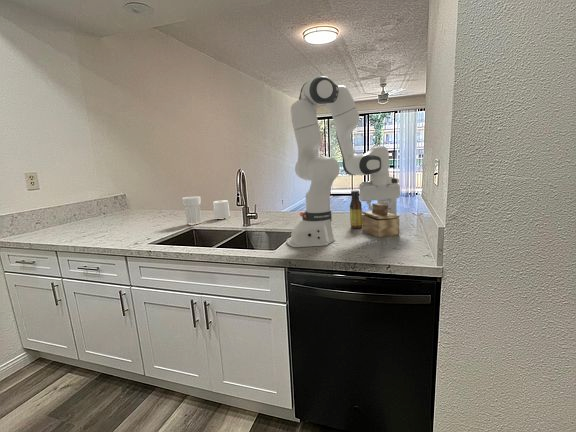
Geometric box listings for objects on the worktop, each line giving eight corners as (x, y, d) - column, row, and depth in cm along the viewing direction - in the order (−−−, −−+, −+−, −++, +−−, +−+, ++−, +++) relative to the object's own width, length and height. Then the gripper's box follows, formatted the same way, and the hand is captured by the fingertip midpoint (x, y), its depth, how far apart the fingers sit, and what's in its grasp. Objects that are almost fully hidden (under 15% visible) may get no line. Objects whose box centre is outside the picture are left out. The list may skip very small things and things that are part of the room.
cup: (181, 225, 209) (178, 198, 206) (194, 221, 219) (191, 196, 216) (193, 226, 203) (190, 198, 200) (207, 222, 213) (204, 196, 210)
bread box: (377, 237, 153) (377, 220, 151) (362, 229, 169) (362, 214, 167) (399, 234, 155) (399, 218, 153) (382, 227, 171) (382, 212, 169)
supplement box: (396, 227, 170) (396, 195, 166) (378, 227, 172) (378, 195, 168) (394, 223, 179) (394, 192, 176) (377, 223, 181) (377, 193, 178)
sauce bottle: (355, 225, 180) (354, 189, 176) (364, 227, 175) (364, 190, 171) (347, 227, 175) (346, 191, 172) (357, 229, 171) (356, 191, 167)
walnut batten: (381, 215, 155) (381, 206, 154) (372, 212, 165) (372, 203, 164) (387, 215, 156) (387, 206, 155) (377, 212, 165) (377, 203, 165)
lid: (377, 219, 151) (377, 217, 151) (362, 213, 167) (362, 211, 167) (399, 217, 153) (399, 215, 153) (382, 212, 169) (382, 210, 169)
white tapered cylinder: (214, 218, 228) (212, 200, 226) (229, 216, 230) (227, 199, 228) (214, 220, 218) (212, 202, 216) (230, 219, 221) (228, 201, 218)
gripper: (362, 182, 152) (362, 211, 155) (402, 179, 156) (402, 207, 158) (356, 181, 158) (357, 209, 161) (395, 178, 162) (395, 205, 165)
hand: (379, 208), depth 160 cm, fingers open, 8 cm apart
